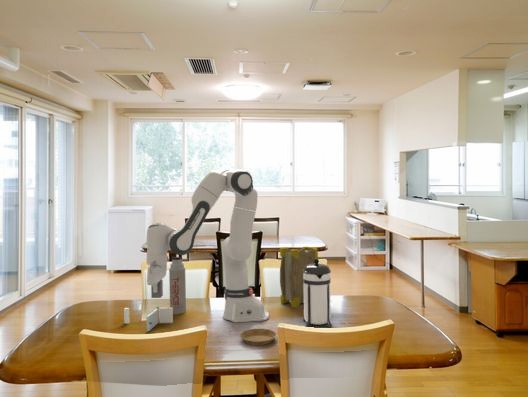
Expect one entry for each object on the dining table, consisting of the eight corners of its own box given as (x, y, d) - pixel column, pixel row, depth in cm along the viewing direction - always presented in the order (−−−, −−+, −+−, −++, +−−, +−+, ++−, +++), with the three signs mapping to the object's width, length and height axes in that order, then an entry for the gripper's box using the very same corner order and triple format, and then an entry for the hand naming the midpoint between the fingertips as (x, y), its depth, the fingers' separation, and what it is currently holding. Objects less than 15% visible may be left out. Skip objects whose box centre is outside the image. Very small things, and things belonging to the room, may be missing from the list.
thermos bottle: (180, 314, 211) (179, 258, 210) (166, 313, 214) (165, 258, 213) (189, 310, 219) (187, 256, 218) (175, 309, 222) (174, 255, 221)
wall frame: (172, 322, 200) (172, 306, 200) (172, 322, 199) (171, 307, 199) (125, 322, 200) (124, 306, 200) (124, 323, 199) (124, 307, 199)
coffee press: (341, 323, 195) (341, 258, 194) (319, 331, 184) (319, 262, 183) (312, 315, 207) (311, 254, 207) (290, 323, 196) (289, 258, 195)
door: (156, 322, 199) (156, 308, 199) (160, 322, 199) (159, 308, 199) (146, 331, 187) (146, 316, 187) (150, 331, 187) (150, 316, 187)
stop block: (162, 295, 190) (162, 280, 190) (160, 297, 186) (160, 282, 186) (153, 295, 190) (153, 280, 190) (151, 297, 186) (151, 282, 186)
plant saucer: (273, 348, 166) (273, 341, 166) (236, 346, 169) (236, 340, 169) (278, 335, 181) (278, 329, 181) (244, 333, 183) (244, 327, 183)
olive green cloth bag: (307, 297, 241) (306, 244, 240) (320, 301, 232) (319, 246, 231) (278, 303, 230) (277, 248, 229) (291, 308, 220) (290, 250, 220)
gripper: (158, 263, 177) (158, 296, 178) (169, 256, 198) (169, 285, 198) (143, 263, 177) (143, 296, 178) (155, 256, 198) (155, 285, 198)
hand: (157, 290), depth 188 cm, fingers closed on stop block, 4 cm apart
